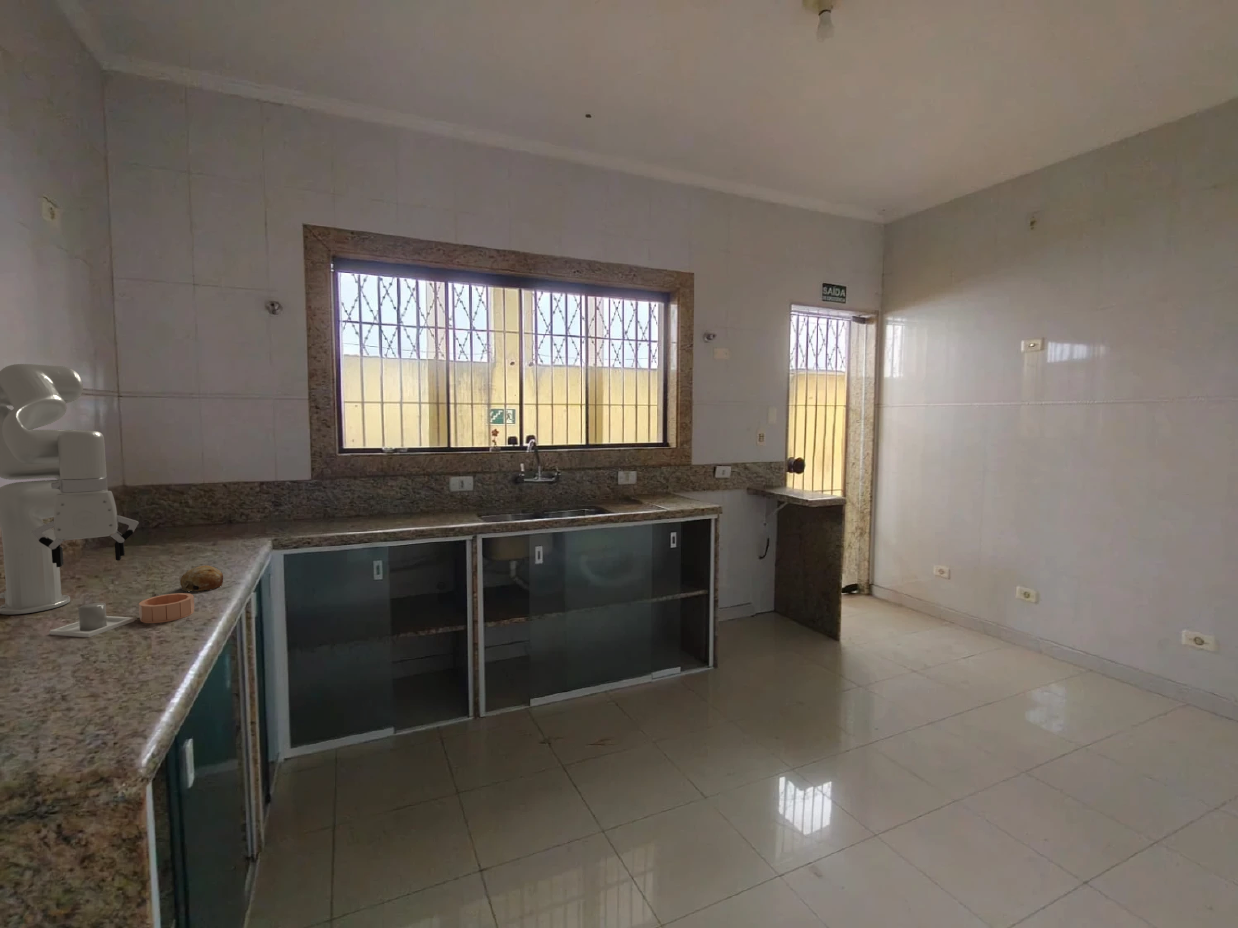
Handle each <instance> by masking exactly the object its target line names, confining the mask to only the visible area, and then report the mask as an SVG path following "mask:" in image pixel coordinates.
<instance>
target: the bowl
mask: <svg viewBox="0 0 1238 928" xmlns="http://www.w3.org/2000/svg"><path fill="white" fill-rule="evenodd" d="M194 612H195V596H194V595H193V594H192V593H190V592H186V593H185V592H184V593H183V592H178V593H177V592H176V593H168V594H161V595H155V596H152V597H149V598H146V599H143V600H141V601H140V602H139V603H138V617H139V618H138V619H140V622H141V623H145V624H158V623H168V622H171V621H172V622H173V621H176V620H177V621H178V620H180V619H183V618H187V617H190V616H191V615H192V614H193V613H194Z"/></svg>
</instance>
